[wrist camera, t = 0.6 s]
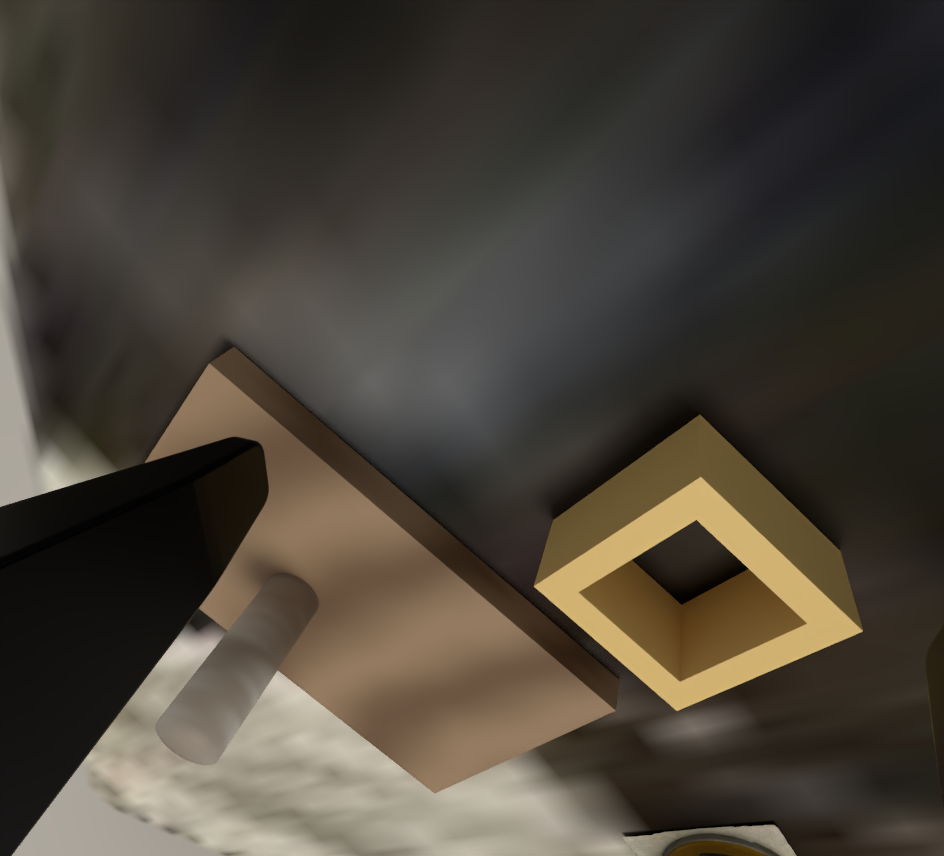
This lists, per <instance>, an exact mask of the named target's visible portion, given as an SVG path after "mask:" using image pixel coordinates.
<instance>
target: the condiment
mask: <svg viewBox="0 0 944 856" xmlns="http://www.w3.org/2000/svg"><path fill="white" fill-rule="evenodd" d="M622 838H623V839H624V840H625V842H626V843H627V844H628V845H629V846H630V847H631V849H632V850H633V851H634V852H635V854H636V855H637V856H796V854H795V853H794V851H793V849H792V848H791V846H790V845H789V844H788V843H787V841H786V839H785V837H784V836H783V834H782V833H781V832H780V830H779V829H778V828H777V827H776V826H775V825H763V826H750V827H748V826H741V827H731V826H730V827H716V828H700V829H692V830H681V831H671V832H663V833H656V834H653V835H644V836H633V837H622Z"/></svg>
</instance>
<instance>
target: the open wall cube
mask: <svg viewBox="0 0 944 856" xmlns="http://www.w3.org/2000/svg"><path fill="white" fill-rule="evenodd" d="M695 520H697V521H698V522H699V523H700V524H702V525H703V526H704V527H705V528H706V529H707V530H708V531H709V532H710V533H711V534H712V535H713V536H714V537H715V538H716V539H718V540H719V541H720V542H721V543H722V544H723V545H724V546H725V547H726V548H727V549H728V550H729V551H730V552H731V553H732V554H734V555H735V556H736V557H737V558H738V559H739V560H740V561H741V562H742V563H743V564H744V565H745V566H746V567H747V568H748V570H746V571H744V572H742V573H740V574H738V575H737V576H735V577H733V578H731V579H729V580H727V581H725V582H723V583H722V584H720V585H718V586H716V587H714V588H712V589H710V590H709V591H707V592H705V593H703V594H701V595H699V596H697V597H695V598H694V599H692V600H690V601H688V602H686V603H684V604H682V605H681V604H680V603H679V602H678V601H677V600H676V599H674V598H673V597H672V596H671V595H670V594H669V593H668V592H667V591H666V590H665V589H663V588H662V587H661V586H660V585H659V584H658V583H657V582H656V581H655V580H654V579H652V578H651V577H650V576H649V575H648V574H647V573H646V572H645V571H644V570H642V569H641V568H640V567H639V566H638V565H637V564H636V563H635V562H634V561H633V560H632V559H633V558H635V557H637V556H638V555H640V554H642V553H643V552H645V551H647V550H648V549H650V548H651V547H653V546H655V545H656V544H658V543H660V542H661V541H663V540H664V539H666V538H668V537H669V536H671V535H673V534H674V533H676V532H677V531H679V530H681V529H682V528H684V527H686V526H687V525H689V524H690V523H692V522H694V521H695ZM534 587H535V588H536V589H537V590H539V591H540V592H541V593H542V594H543V595H544V596H546V597H547V598H548V599H549V600H550V601H551V602H552V603H554V604H555V605H556V606H557V607H558V608H559V609H560V610H562V611H563V612H564V613H565V614H566V615H567V616H568V617H570V618H571V619H572V620H573V621H574V622H575V623H577V624H578V625H579V626H580V627H581V628H582V629H583V630H585V631H586V632H587V633H588V634H589V635H590V636H591V637H593V638H594V639H595V640H596V641H597V642H598V643H599V644H601V645H602V646H603V647H604V648H605V649H606V650H608V651H609V652H610V653H611V654H612V655H613V656H614V657H616V658H617V659H618V660H619V661H620V662H621V663H622V664H624V665H625V666H626V667H627V668H628V669H629V670H630V671H632V672H633V673H634V674H635V675H636V676H637V677H639V678H640V679H641V680H642V681H643V682H644V683H645V684H647V685H648V686H649V687H650V688H651V689H652V690H653V691H655V692H656V693H657V694H658V695H659V696H660V697H661V698H663V699H664V700H665V701H666V702H667V703H668V704H669V705H671V706H672V707H673V708H674V709H675V710H676V711H678V710H680V709H683V708H685V707H687V706H690V705H692V704H694V703H697V702H699V701H701V700H704V699H706V698H708V697H711V696H713V695H715V694H718V693H720V692H722V691H725V690H727V689H729V688H732V687H734V686H736V685H739V684H741V683H743V682H746V681H748V680H750V679H753V678H755V677H757V676H760V675H762V674H764V673H767V672H769V671H772V670H774V669H776V668H779V667H781V666H783V665H786V664H788V663H790V662H793V661H795V660H797V659H800V658H802V657H804V656H807V655H809V654H811V653H814V652H816V651H818V650H821V649H823V648H825V647H828V646H830V645H832V644H835V643H837V642H839V641H842V640H844V639H846V638H849V637H851V636H853V635H856V634H858V633H860V632H863V629H862V625H861V622H860V618H859V615H858V611H857V608H856V604H855V601H854V597H853V594H852V590H851V587H850V583H849V580H848V576H847V573H846V569H845V566H844V562H843V559H842V555H841V552H840V550H839V549H838V548H837V547H836V546H835V545H834V544H833V543H832V542H831V541H830V540H829V539H828V538H827V537H826V536H824V535H823V534H822V533H821V532H820V531H819V530H818V529H817V528H816V527H815V526H814V525H813V524H812V523H811V522H810V521H809V520H808V519H807V518H806V517H805V516H804V515H803V514H802V513H801V512H800V511H799V510H798V509H797V508H796V507H795V506H794V505H793V504H792V503H791V502H789V501H788V500H787V499H786V498H785V497H784V496H783V495H782V494H781V493H780V492H779V491H778V490H777V489H776V488H775V487H774V486H773V485H772V484H771V483H770V482H769V481H768V480H767V479H766V478H765V477H764V476H763V475H762V474H761V473H760V472H759V471H758V470H757V469H755V468H754V467H753V466H752V465H751V464H750V463H749V462H748V461H747V460H746V459H745V458H744V457H743V456H742V455H741V454H740V453H739V452H738V451H737V450H736V449H735V448H734V447H733V446H732V445H731V444H730V443H729V442H728V441H727V440H726V439H725V438H724V437H723V436H722V435H720V434H719V433H718V432H717V431H716V430H715V429H714V428H713V427H712V426H711V425H710V424H709V423H708V422H707V421H706V420H705V419H704V418H703V417H702V416H701V415H699V416H697V417H696V418H694V419H693V420H692V421H690V422H689V423H687V424H686V425H685V426H683V427H682V428H681V429H679V430H678V431H676V432H675V433H674V434H672V435H671V436H669V437H668V438H667V439H665V440H664V441H662V442H661V443H660V444H658V445H657V446H655V447H654V448H653V449H651V450H650V451H649V452H647V453H646V454H644V455H643V456H642V457H640V458H639V459H637V460H636V461H635V462H633V463H632V464H630V465H629V466H628V467H626V468H625V469H624V470H622V471H621V472H619V473H618V474H617V475H615V476H614V477H612V478H611V479H610V480H608V481H607V482H605V483H604V484H603V485H601V486H600V487H599V488H597V489H596V490H594V491H593V492H592V493H590V494H589V495H587V496H586V497H585V498H583V499H582V500H580V501H579V502H578V503H576V504H575V505H573V506H572V507H571V508H569V509H568V510H567V511H565V512H564V513H562V514H561V515H560V516H558V517H557V518H555V519H554V520H553V522H552V526H551V529H550V533H549V536H548V540H547V543H546V546H545V550H544V553H543V557H542V560H541V563H540V567H539V570H538V574H537V577H536V581H535V584H534Z"/></svg>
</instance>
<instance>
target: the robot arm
mask: <svg viewBox="0 0 944 856" xmlns="http://www.w3.org/2000/svg"><path fill="white" fill-rule="evenodd" d="M268 494H269V484H268V476H267V469H266V462H265V454H264V449H263V447H262V445H261V444H260V443H259V442H258V441H255V440H250V439H246V438H241V437H229V438H226V439H222V440H219V441H216V442H212V443H209V444H206V445H202V446H199V447H196V448H193V449H189V450H186V451H183V452H179V453H176V454H173V455H170V456H166V457H163V458H160V459H156V460H153V461H150V462H147V463H143V464H140V465H137V466H133V467H130V468H127V469H124V470H120V471H117V472H114V473H110V474H107V475H104V476H100V477H97V478H94V479H91V480H87V481H84V482H81V483H77V484H74V485H71V486H68V487H64V488H61V489H58V490H54V491H51V492H48V493H45V494H41V495H38V496H35V497H31V498H28V499H25V500H22V501H18V502H15V503H12V504H9V505H5V506H2V507H0V856H12V854H13V853H14V852H15V850H16V849H17V848H18V846H19V845H20V844H21V843H22V841H23V840H24V838H25V837H26V836H27V835H28V833H29V832H30V831H31V829H32V828H33V827H34V825H35V824H36V823H37V821H38V820H39V819H40V817H41V816H42V815H43V813H44V812H45V811H46V809H47V808H48V807H49V806H50V804H51V803H52V802H53V800H54V799H55V798H56V796H57V795H58V794H59V792H60V791H61V790H62V788H63V787H64V786H65V784H66V783H67V782H68V780H69V779H70V777H71V776H72V775H73V774H74V772H75V771H76V770H77V768H78V767H79V766H80V765H81V763H82V762H83V761H84V759H85V758H86V757H87V755H88V754H89V753H90V751H91V750H92V749H93V747H94V746H95V745H96V743H97V742H98V741H99V739H100V738H101V737H102V735H103V734H104V733H105V732H106V730H107V729H108V728H109V726H110V725H111V724H112V722H113V721H114V720H115V718H116V717H117V716H118V714H119V713H120V712H121V710H122V709H123V708H124V706H125V705H126V704H127V702H128V701H129V700H130V699H131V697H132V696H133V695H134V693H135V692H136V691H137V689H138V688H139V687H140V685H141V684H142V683H143V681H144V680H145V679H146V677H147V676H148V675H149V673H150V672H151V671H152V669H153V668H154V667H155V665H156V664H157V663H158V662H159V660H160V659H161V658H162V656H163V655H164V654H165V652H166V651H167V650H168V648H169V647H170V646H171V644H172V643H173V642H174V640H175V639H176V638H177V636H178V635H179V634H180V632H181V631H182V630H183V628H184V627H185V626H186V625H187V623H188V622H189V621H190V619H191V618H192V617H193V615H194V614H195V613H196V611H197V610H198V609H199V607H200V606H201V605H202V603H203V602H204V601H205V599H206V598H207V597H208V595H209V594H210V592H211V591H212V590H213V588H214V587H215V585H216V584H217V582H218V581H219V579H220V578H221V576H222V575H223V573H224V571H225V570H226V568H227V566H228V565H229V563H230V562H231V560H232V558H233V557H234V555H235V553H236V552H237V550H238V548H239V547H240V545H241V543H242V542H243V540H244V538H245V537H246V535H247V533H248V532H249V530H250V528H251V527H252V525H253V523H254V522H255V520H256V518H257V517H258V515H259V514H260V512H261V510H262V509H263V507H264V505H265V503H266V501H267V498H268ZM925 671H926V679H927V688H928V696H929V705H930V713H931V721H932V730H933V738H934V746H935V755H936V763H937V771H938V778H939V785H940V792H941V797H942V802H943V807H944V622H943V624H942V626H941V627H940V629H939V631H938V633H937V634H936V636H935V638H934V640H933V641H932V643H931V645H930V647H929V649H928V651H927V655H926V660H925Z"/></svg>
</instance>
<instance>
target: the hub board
mask: <svg viewBox="0 0 944 856" xmlns="http://www.w3.org/2000/svg"><path fill="white" fill-rule="evenodd" d="M229 437H241V438H246V439H250V440H255V441H258V442H259V443H260V444H261V445H262V447H263V449H264V454H265V462H266V469H267V476H268V484H269V494H268V498H267V501H266V503H265V505H264V507H263V509H262V510H261V512H260V514H259V515H258V517H257V518H256V520H255V522H254V523H253V525H252V527H251V528H250V530H249V532H248V533H247V535H246V537H245V538H244V540H243V542H242V543H241V545H240V547H239V548H238V550H237V552H236V553H235V555H234V557H233V558H232V560H231V562H230V563H229V565H228V566H227V568H226V570H225V571H224V573H223V575H222V576H221V578H220V579H219V581H218V582H217V584H216V585H215V587H214V588H213V590H212V591H211V592H210V594H209V595H208V597H207V598H206V599H205V601H204V602H203V603H202V605H201V606H200V607H199V609H201V610H202V611H203V612H204V613H206V614H207V615H208V616H209V617H211V618H212V619H213V620H215V621H216V622H217V623H218V624H220V625H221V626H222V627H223V628H225V629H226V630H227V631H228V632H227V633H226V634H225V636H224V637H223V638H222V640H221V641H220V642H219V643H218V645H217V646H216V647H215V648H214V650H213V651H212V652H211V653H210V655H209V656H208V657H207V659H206V660H205V661H204V662H203V664H202V665H201V666H200V667H199V669H198V670H197V671H196V673H195V674H194V675H193V676H192V678H191V679H190V680H189V681H188V683H187V684H186V685H185V687H184V688H183V689H182V690H181V692H180V693H179V694H178V695H177V697H176V698H175V699H174V701H173V702H172V703H171V704H170V706H169V707H168V708H167V709H166V711H165V712H164V713H163V715H162V716H161V717H160V718H159V720H158V721H157V723H156V732H157V734H158V736H159V738H160V739H161V741H162V742H163V743H164V744H165V745H166V746H167V747H168V748H169V749H170V750H171V751H173V752H174V753H175V754H177V755H178V756H180V757H182V758H184V759H186V760H188V761H190V762H193V763H196V764H200V765H212V764H214V763H216V762H217V761H218V759H219V758H220V756H221V755H222V753H223V752H224V750H225V749H226V747H227V746H228V744H229V743H230V741H231V740H232V738H233V737H234V735H235V734H236V732H237V731H238V729H239V728H240V726H241V725H242V723H243V722H244V720H245V719H246V717H247V716H248V714H249V712H250V711H251V709H252V708H253V706H254V705H255V703H256V702H257V700H258V699H259V697H260V696H261V694H262V693H263V691H264V690H265V688H266V687H267V685H268V684H269V682H270V681H271V679H272V678H273V676H274V675H275V673H276V672H277V670H278V671H279V672H281V673H282V674H283V675H285V676H286V677H287V678H288V679H290V680H291V681H292V682H293V683H295V684H296V685H297V686H299V687H300V688H301V689H302V690H304V691H305V692H306V693H308V694H309V695H310V696H311V697H313V698H314V699H315V700H316V701H318V702H319V703H320V704H322V705H323V706H324V707H325V708H327V709H328V710H329V711H330V712H332V713H333V714H334V715H336V716H337V717H338V718H339V719H341V720H342V721H343V722H344V723H346V724H347V725H348V726H350V727H351V728H352V729H353V730H355V731H356V732H357V733H358V734H360V735H361V736H362V737H364V738H365V739H366V740H367V741H369V742H370V743H371V744H372V745H374V746H375V747H376V748H378V749H379V750H380V751H381V752H383V753H384V754H385V755H386V756H388V757H389V758H390V759H392V760H393V761H394V762H395V763H397V764H398V765H399V766H400V767H402V768H403V769H404V770H406V771H407V772H408V773H409V774H411V775H412V776H413V777H414V778H416V779H417V780H418V781H420V782H421V783H422V784H423V785H425V786H426V787H427V788H428V789H430V790H431V791H432V792H434V793H437V792H439V791H441V790H443V789H445V788H448V787H450V786H452V785H454V784H456V783H458V782H461V781H463V780H465V779H467V778H469V777H472V776H474V775H476V774H478V773H480V772H483V771H485V770H487V769H489V768H491V767H493V766H496V765H498V764H500V763H502V762H504V761H507V760H509V759H511V758H513V757H515V756H518V755H520V754H522V753H524V752H526V751H528V750H531V749H533V748H535V747H537V746H539V745H542V744H544V743H546V742H548V741H550V740H553V739H555V738H557V737H559V736H561V735H563V734H566V733H568V732H570V731H572V730H574V729H577V728H579V727H581V726H583V725H585V724H588V723H590V722H592V721H594V720H596V719H598V718H601V717H603V716H605V715H607V714H609V713H612V712H614V711H616V704H617V695H618V687H619V679H618V678H617V677H616V676H614V675H613V674H612V673H611V672H610V671H609V670H607V669H606V668H605V667H604V666H603V665H602V664H601V663H599V662H598V661H597V660H596V659H595V658H594V657H592V656H591V655H590V654H589V653H588V652H587V651H586V650H584V649H583V648H582V647H581V646H580V645H579V644H577V643H576V642H575V641H574V640H573V639H572V638H570V637H569V636H568V635H567V634H566V633H565V632H564V631H562V630H561V629H560V628H559V627H558V626H557V625H555V624H554V623H553V622H552V621H551V620H550V619H549V618H547V617H546V616H545V615H544V614H543V613H542V612H540V611H539V610H538V609H537V608H536V607H535V606H534V605H532V604H531V603H530V602H529V601H528V600H527V599H525V598H524V597H523V596H522V595H521V594H520V593H518V592H517V591H516V590H515V589H514V588H513V587H512V586H510V585H509V584H508V583H507V582H506V581H505V580H503V579H502V578H501V577H500V576H499V575H498V574H497V573H495V572H494V571H493V570H492V569H491V568H490V567H488V566H487V565H486V564H485V563H484V562H483V561H481V560H480V559H479V558H478V557H477V556H476V555H475V554H473V553H472V552H471V551H470V550H469V549H468V548H466V547H465V546H464V545H463V544H462V543H461V542H460V541H458V540H457V539H456V538H455V537H454V536H453V535H451V534H450V533H449V532H448V531H447V530H446V529H444V528H443V527H442V526H441V525H440V524H439V523H438V522H436V521H435V520H434V519H433V518H432V517H431V516H429V515H428V514H427V513H426V512H425V511H424V510H423V509H421V508H420V507H419V506H418V505H417V504H416V503H414V502H413V501H412V500H411V499H410V498H409V497H407V496H406V495H405V494H404V493H403V492H402V491H401V490H399V489H398V488H397V487H396V486H395V485H394V484H392V483H391V482H390V481H389V480H388V479H387V478H386V477H384V476H383V475H382V474H381V473H380V472H379V471H377V470H376V469H375V468H374V467H373V466H372V465H370V464H369V463H368V462H367V461H366V460H365V459H364V458H362V457H361V456H360V455H359V454H358V453H357V452H355V451H354V450H353V449H352V448H351V447H350V446H349V445H347V444H346V443H345V442H344V441H343V440H342V439H340V438H339V437H338V436H337V435H336V434H335V433H333V432H332V431H331V430H330V429H329V428H328V427H327V426H325V425H324V424H323V423H322V422H321V421H320V420H318V419H317V418H316V417H315V416H314V415H313V414H312V413H310V412H309V411H308V410H307V409H306V408H305V407H303V406H302V405H301V404H300V403H299V402H298V401H297V400H295V399H294V398H293V397H292V396H291V395H290V394H288V393H287V392H286V391H285V390H284V389H283V388H281V387H280V386H279V385H278V384H277V383H276V382H275V381H273V380H272V379H271V378H270V377H269V376H268V375H266V374H265V373H264V372H263V371H262V370H261V369H260V368H258V367H257V366H256V365H255V364H254V363H253V362H251V361H250V360H249V359H248V358H247V357H246V356H244V355H243V354H242V353H241V352H240V351H239V350H238V349H236V348H235V347H233V348H231V349H230V350H228V351H227V352H225V353H224V354H222V355H221V356H219V357H218V358H216V359H215V360H213V361H212V362H210V363H209V364H208V366H207V368H206V369H205V371H204V372H203V374H202V375H201V377H200V378H199V380H198V381H197V383H196V384H195V386H194V388H193V389H192V391H191V392H190V394H189V395H188V397H187V398H186V400H185V401H184V403H183V405H182V406H181V408H180V409H179V411H178V412H177V414H176V415H175V417H174V418H173V420H172V422H171V423H170V425H169V426H168V428H167V429H166V431H165V432H164V434H163V435H162V437H161V439H160V440H159V442H158V443H157V445H156V446H155V448H154V449H153V451H152V452H151V454H150V455H149V457H148V459H147V460H146V462H145V463H147V462H150V461H153V460H156V459H160V458H163V457H166V456H170V455H173V454H176V453H179V452H183V451H186V450H189V449H193V448H196V447H199V446H202V445H206V444H209V443H212V442H216V441H219V440H222V439H226V438H229Z"/></svg>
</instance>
